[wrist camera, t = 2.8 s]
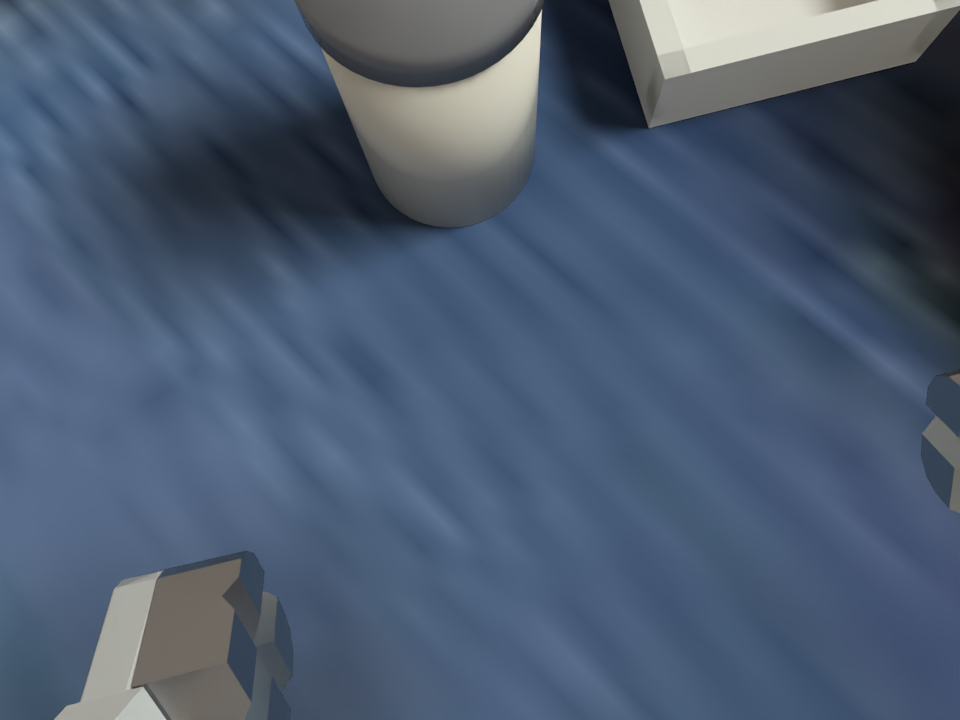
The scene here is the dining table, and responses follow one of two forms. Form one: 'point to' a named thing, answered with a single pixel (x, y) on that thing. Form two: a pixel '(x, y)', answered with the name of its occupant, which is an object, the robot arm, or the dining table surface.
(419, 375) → the dining table surface
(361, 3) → the jar
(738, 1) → the pusher lane
